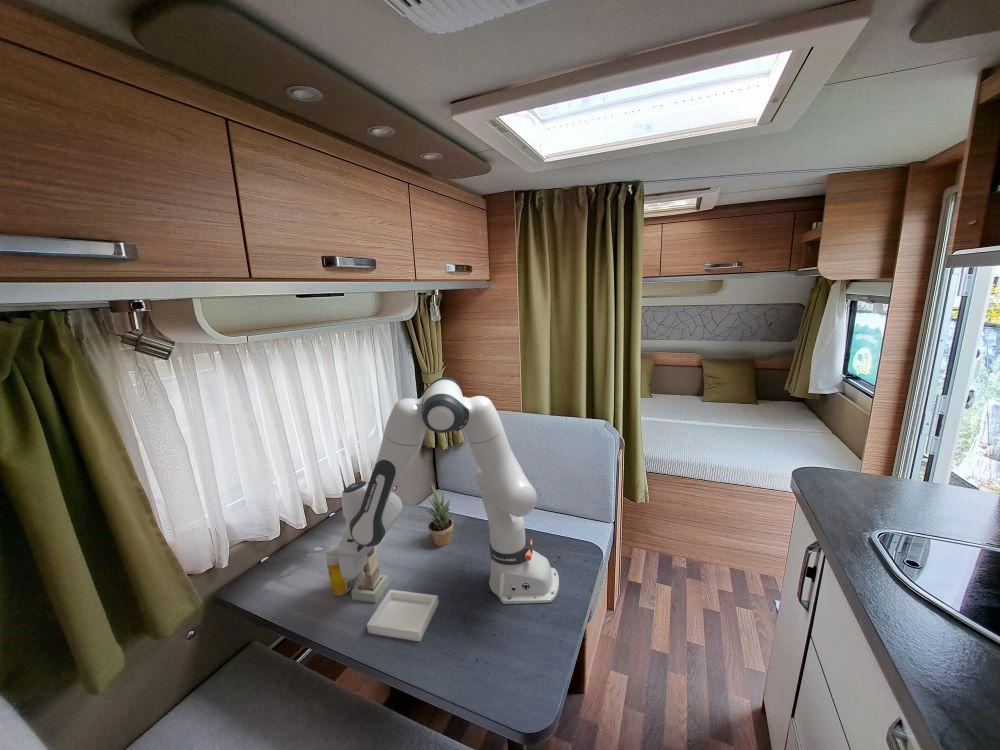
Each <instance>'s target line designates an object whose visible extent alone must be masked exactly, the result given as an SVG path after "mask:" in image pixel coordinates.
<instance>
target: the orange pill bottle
mask: <svg viewBox="0 0 1000 750" xmlns="http://www.w3.org/2000/svg"><path fill="white" fill-rule="evenodd" d="M338 545H339V543H338V544H334V545H332V546H330V547H329V548H327V550H326V553H325V561H326V566H327V571H328V575H329V582H330V586H331V592H332V594H333V595H335V596H338V597H339V596H340V597H342V596H343V595H346V594H348V593H349V592H350V591H351V589H352V586H353V582H352V579H345V578H343V577H342V576H341V572H340V566H339V556H340V554H339V553H337V547H338Z"/></svg>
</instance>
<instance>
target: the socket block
mask: <svg viewBox="0 0 1000 750" xmlns="http://www.w3.org/2000/svg"><path fill="white" fill-rule="evenodd" d="M380 578H381V581H380V582H379V584H378V585H377V586H376V588H375V589H374V591H370V590H362V589H361V585H360V580H359V581H358V582H357V583H356V585H355V586H354V587H353V589H352V590H350V591H351V597H352V600H354V601H355V600H356V601H362V602H370V603H375V604H376V603H377V602H378V600H379V599H380V598H381V596H382V595H383V593H384V592H385V591H386V589H387V587H388V586H389V584H390V580H389V578H390V577H389V575H388V574H381V573H380Z"/></svg>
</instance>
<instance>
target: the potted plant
mask: <svg viewBox="0 0 1000 750" xmlns="http://www.w3.org/2000/svg"><path fill="white" fill-rule="evenodd" d="M430 484H431V489H432V494H433V497H431V498H432V500H431V499H430V498H429V496H427V500H428V501H429V503H430V504H431V506H430V508H429V509H428V508H426V510H425V511H427V512H428V513H429V514H430V516H432V517H430V519H431V521H430V522H429V524H428V525H427V527H428V528H427V529H428V532H429V534H430V535H431V537H432V538H433V541H434V543H435V545H436V546H438V547H444V546H447V545H448V544H450V543H451V540H452V532H453V529H454V520H453V519H452V518H451V517H453V515H452V514H451V515H449V512H450V509H451V507H450V502H451V501H450V499H448V500H447V502H446V504H445V500H446V499H445V498H446V496H445V495H446V492H445V490H444V491H443V492H442V496H441V500H440V499H439V497H438V494H437V490H436V484H433V482H430ZM443 545H444V546H443Z"/></svg>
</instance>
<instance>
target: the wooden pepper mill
mask: <svg viewBox="0 0 1000 750" xmlns="http://www.w3.org/2000/svg"><path fill="white" fill-rule="evenodd" d="M367 556H368V558H367V563H366V565H365V566H364V569H363V570H364V571H367V576H366V577H365V578H364V579H362V578H360V576H359V575H358V578H359V581H360V585H361V589H362V590H370V591H374V589H375V588H376V586H377V585H378V584H379V582H380V581H381V578H380V574H381V573H380V566H379V559H378V555H377V554H376V549H374V546H373V548H372V549H371V550H370V551H369V552H368V553H367Z"/></svg>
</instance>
